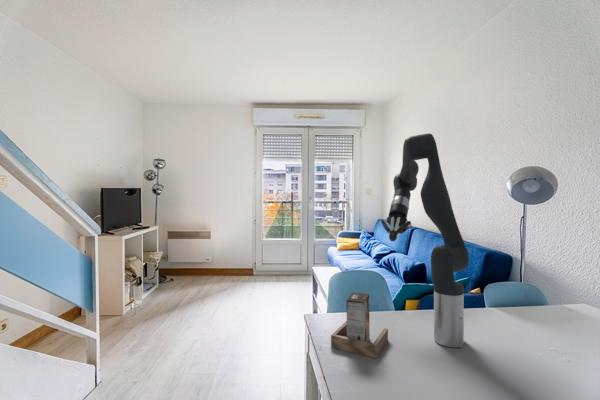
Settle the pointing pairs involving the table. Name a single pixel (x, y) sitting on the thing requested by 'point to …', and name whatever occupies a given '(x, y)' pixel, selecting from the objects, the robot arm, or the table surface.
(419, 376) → the table surface
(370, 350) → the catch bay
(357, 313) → the coffee box
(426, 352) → the table surface
